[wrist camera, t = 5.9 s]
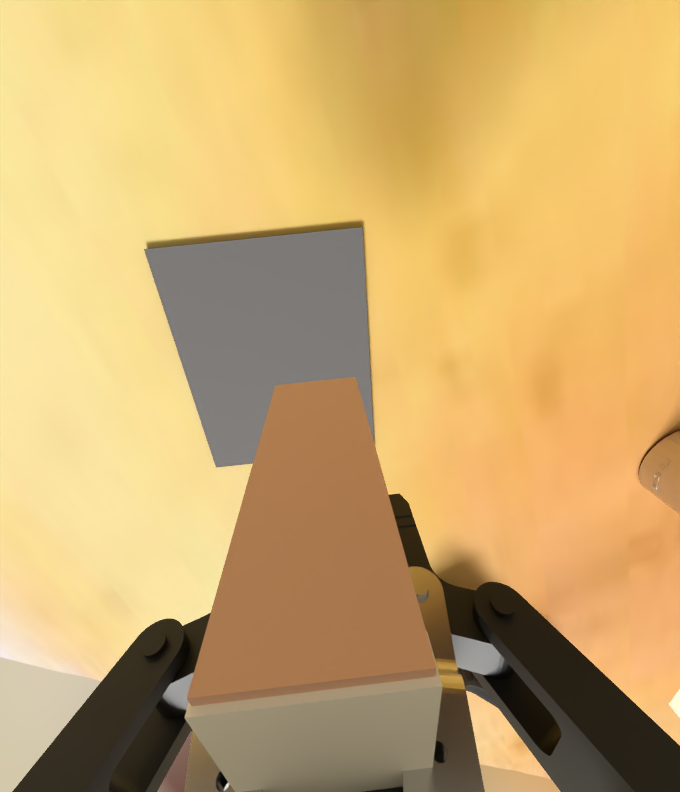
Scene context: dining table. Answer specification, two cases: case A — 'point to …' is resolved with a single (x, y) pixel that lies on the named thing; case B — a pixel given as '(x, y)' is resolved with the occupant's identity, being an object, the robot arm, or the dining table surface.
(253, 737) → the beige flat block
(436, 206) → the dining table surface
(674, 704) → the milk
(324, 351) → the mat
